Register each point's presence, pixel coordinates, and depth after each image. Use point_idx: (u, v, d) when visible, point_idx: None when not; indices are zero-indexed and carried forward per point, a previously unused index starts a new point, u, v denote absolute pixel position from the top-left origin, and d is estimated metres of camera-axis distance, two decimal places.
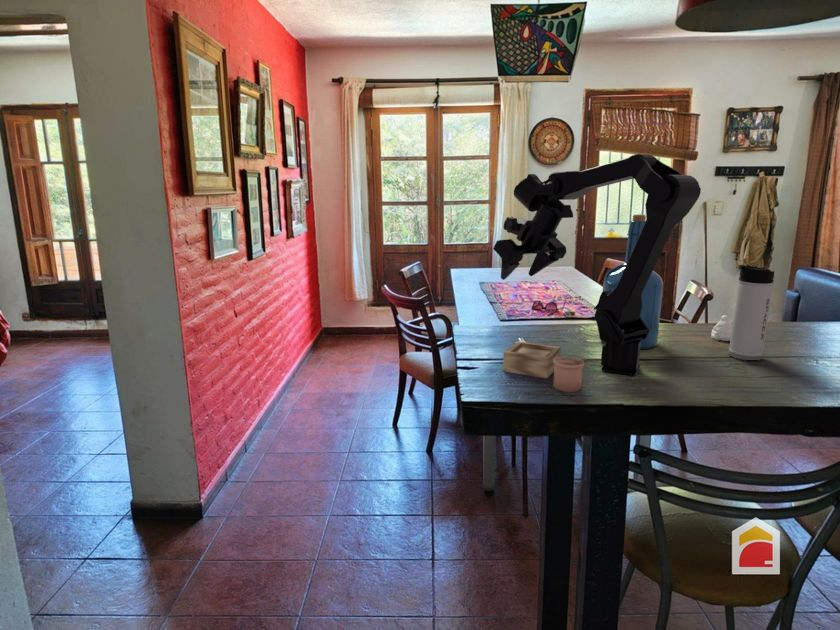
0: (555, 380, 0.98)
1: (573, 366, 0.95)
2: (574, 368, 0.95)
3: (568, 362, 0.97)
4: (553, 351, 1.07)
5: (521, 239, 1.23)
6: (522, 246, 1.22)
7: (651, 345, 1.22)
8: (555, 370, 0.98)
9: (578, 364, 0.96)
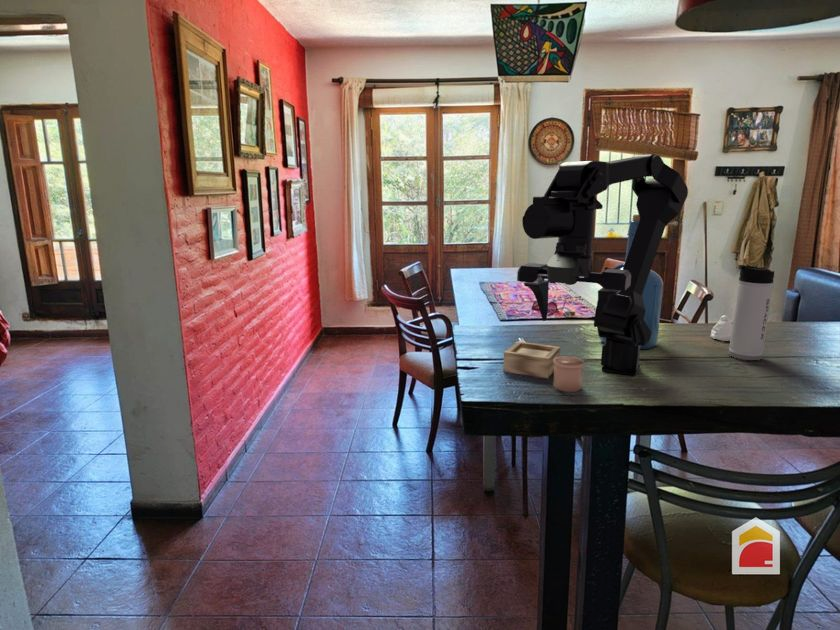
0: (555, 380, 0.98)
1: (573, 366, 0.95)
2: (574, 368, 0.95)
3: (568, 362, 0.97)
4: (553, 351, 1.07)
5: None
6: (592, 272, 0.93)
7: (651, 345, 1.22)
8: (555, 370, 0.98)
9: (578, 364, 0.96)
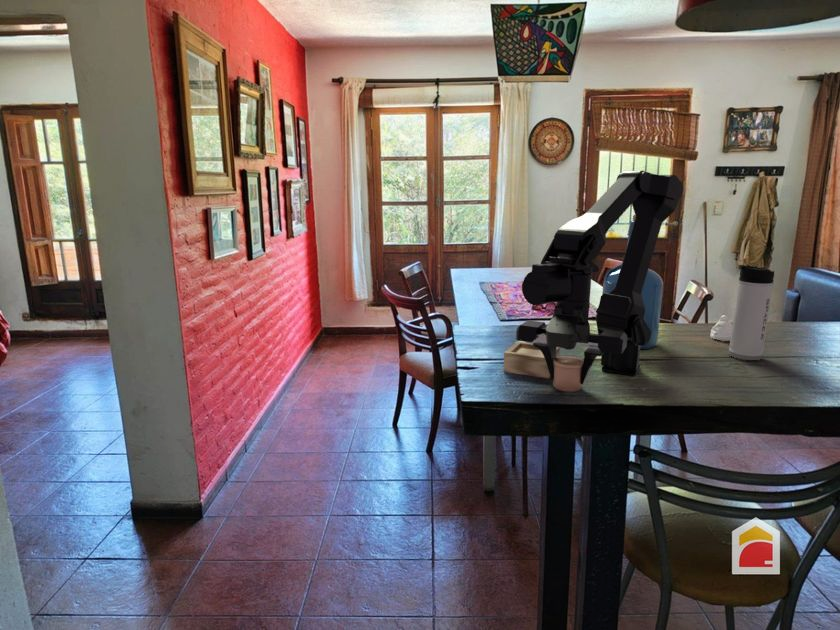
0: (555, 380, 0.98)
1: (573, 366, 0.95)
2: (574, 368, 0.95)
3: (568, 362, 0.97)
4: None
5: None
6: (590, 333, 0.95)
7: (651, 345, 1.22)
8: (555, 370, 0.98)
9: (578, 364, 0.96)
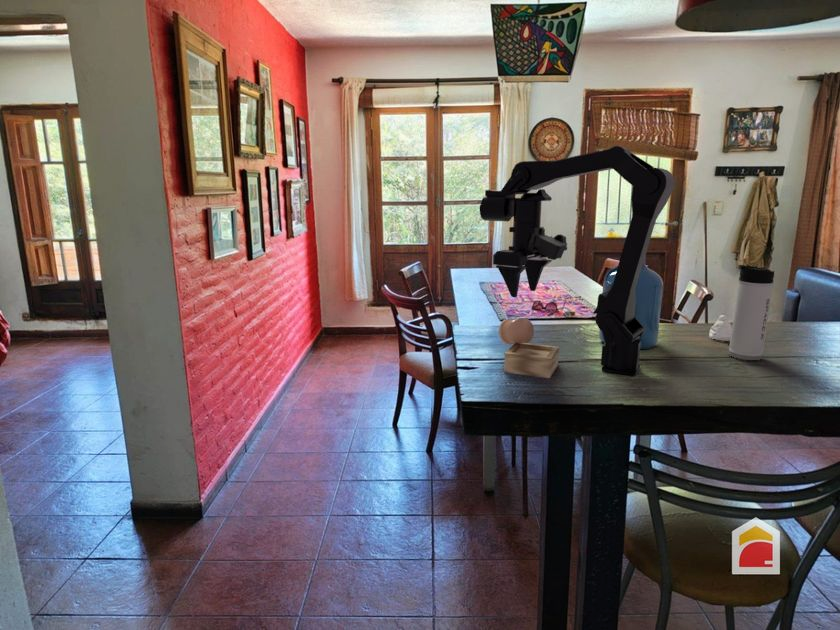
0: None
1: (500, 337, 1.12)
2: (501, 336, 1.12)
3: None
4: (553, 351, 1.07)
5: None
6: None
7: (651, 345, 1.22)
8: None
9: None
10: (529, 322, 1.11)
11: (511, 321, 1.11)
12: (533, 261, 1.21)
